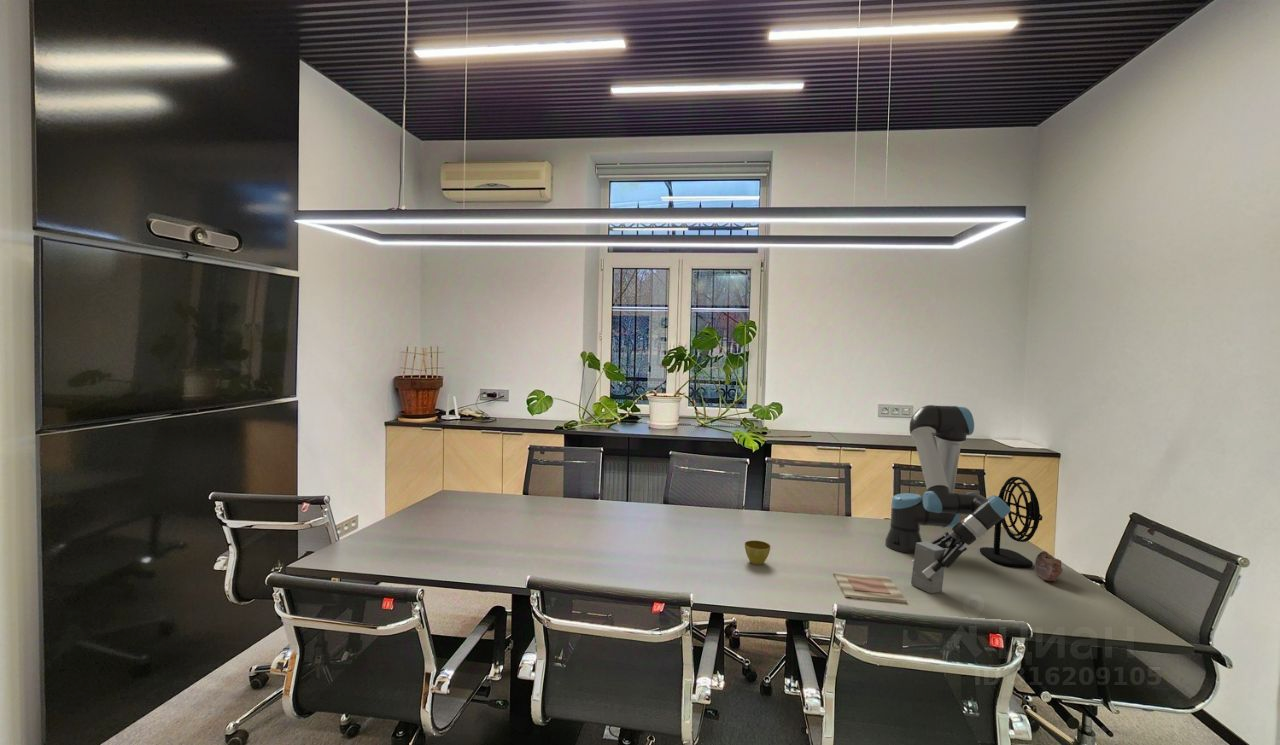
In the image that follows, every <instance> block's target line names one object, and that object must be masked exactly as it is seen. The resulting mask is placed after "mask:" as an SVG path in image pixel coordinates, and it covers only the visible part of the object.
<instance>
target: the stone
mask: <svg viewBox="0 0 1280 745" xmlns="http://www.w3.org/2000/svg"><path fill="white" fill-rule="evenodd" d="M1062 564H1063V562H1062V561H1061V559H1058V558H1054V557H1053V555H1051V554H1049V552H1047V551H1045V550H1043V551H1041V552H1039V554H1037V555H1036V557H1035V563H1034V572H1035V574H1037V575H1038V576H1039V577H1040V578H1041V579H1042V580H1044V581H1047V582H1056V581H1058V578H1059V576H1060V575H1061V574H1063V571H1064V570H1063V568H1062Z"/></svg>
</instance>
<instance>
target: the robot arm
mask: <svg viewBox="0 0 1280 745" xmlns="http://www.w3.org/2000/svg"><path fill="white" fill-rule="evenodd" d="M974 420H975V419H974V416H973V414H972V411H970V409H969V408H967V407H966V406H964V407H963V406H957V405H933V404H930V405H924V406H922V407H920V408H919V409H917V410H916V411H915V412H914V413H913V414H912V416H911V419H910V422H909V433H910V436H911V438H912V440H914V442H915V446H916V451H917V455H918V459H919V464H920V467H921V472H922V475H923V479H924V482H925V488H926V491H925V492H924V493H923V495H922V496H921V494H918V493H909V492H908V493H907V492H905V493H903V492H902V493H897V494H894V495H893V497H892V500H891V506H890V507H891V509H890V510H891V512H890V527H889V531H887V532H888V533H887V535H886V537H885V542H884V544H885V546H886V547H887V548H889V549H892V550H894V551H897V552H901V553H902V552H903V553H907V554H915V547H916V543H917V542H923V540H922V536H921V526H926V527H927V526H928V527H939V528H951V530H952V531H953V532H952V533H949V532H948V531H945V532H944V533H943V534H941V535H940V536H938V537H937V538H935V539H934V540H932V541H930V543H932V544H935V545H938V546H939V547H942V548H944V549H946V550H945V552H944V553H943V555H942V556H941V558H940V559H937V560H936V561H935V562H934V563H932V564H931V565H930V566H929V567H927V568H926V569H925V570H924V571H922V573H923V574H924V575H925V576H926V577H927V578H929V577H931V576H932V575H933V574H934V573H936V572H937V571H938V570H939V569H941V568H942V567H945V568H947V569H948V568H950V567H951V566H952V565H953V564H954V562H956V561H957V559H958V558H959V557H960V556H961V555H962V554H963V553H964V552H965V551H967V550H968V548H967V546H970V545H972V544H973V543H974V542H975V541H977V538H981V536H983V535H985V534H986V532H988V531H989V530H990V529H992V528H993V527H995V524H997V523H998V522H999V521H1000V520H1002V519H1003V518H1005V519H1006V517H1007V516H1008V513H1010V511H1011V506H1010V507H1009V506H1008V505H1007V504H1006V503H1005V502H1004V501H1003V500H1002V499H1001V498H999V497H998V496H999V495H998V496H997V495H995V494H993V495H991V496H989V497H987V498H986V497H985V496H983V495H981V494H979V493H977V492H972V491H969V492H966V493H955V487H956V479H957V472H958V466H959V460H960V452H961V447H962V444H963V443H964V442H966V441H967V436H971V435H972V434H974V431H975V421H974ZM961 515H966V516H965V517H964V518H962V519H961ZM960 519H961V521H960ZM959 521H960V522H959ZM965 544H966V545H967V546H966V545H965ZM911 562H912V563H913V564H914V559H912V560H911Z"/></svg>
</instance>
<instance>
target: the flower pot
mask: <svg viewBox="0 0 1280 745" xmlns="http://www.w3.org/2000/svg"><path fill="white" fill-rule="evenodd" d="M744 548H745V553H746V556H747V558H748V560H749V563H751V564H753V565H755V566H756V565H757V566H759V565H763V564H764V563H765V562H766V560H767V559H768V557H769V555H770V551H771V548H772V547H771V544H769V543H768V542H766V541H761V540H747V541H745V542H744Z"/></svg>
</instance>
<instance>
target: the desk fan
mask: <svg viewBox="0 0 1280 745" xmlns="http://www.w3.org/2000/svg"><path fill="white" fill-rule="evenodd" d="M1019 480H1020V482H1016V481H1019ZM1021 485H1023V486H1025V487H1026V489H1027V490H1024V489H1023V487H1022V486H1021ZM1016 488H1018V489H1019V492H1020V494H1019V495H1018V498H1016V497H1015V495H1014V490H1015V489H1016ZM999 490H1000V491H999V494H998V497H999V498H1001V499H1002V500H1003V501H1004V502H1005V503H1006V504H1007V505H1008V506H1009V507H1010V508H1011V506H1015V511H1010V513H1008V514H1007V516H1008V519H1009V522H1010V525H1008V524H1007V521H1006V517H1005V518H1003V519H1002V520H1000V521H999V522H998V523H997V524H995V525H994V534H993V535H994V536H993V547H990V546H989V547H987V546H985V547H984V546H983V547H980V548H979V552H980V553H981V555H983V556H985V557H986V558H987V559H989V560H990V561H992V562H995V563H996V564H998V565H999V564H1000V565H1002V566H1009V567H1019V568H1031V567H1033V564H1034V563H1033V561H1032V560H1031V559H1029V558H1027V557H1026V556H1025V555H1022V554H1021V553H1019V552H1017V551H1015V550H1011V549H1007V548H1002V547H1001V534H1002V527H1003V529H1004V530H1005V532H1006V533H1007V535H1008V537H1009V538H1010V539H1011V540H1014V541H1016V542H1020V543H1026V542H1028V541H1030V540H1031V539H1032V538H1033V537H1034V535H1035V534H1036V531H1037V530H1038V528H1039V524H1040V521H1043V515H1042V514H1041V511H1040V510H1041V509H1040V503H1039V500H1038V497H1037V495H1036V492H1035V491H1034V489H1033V488H1032V485H1030V483H1029V482H1028V481H1027V480H1026V479H1025V478H1023V477H1020V476H1011V477H1009V478H1008V479H1006V481H1005V482H1004V484H1003V485H1002V486H1001V489H999ZM1026 493H1028V494H1029V496H1030V501H1029V499H1028V497H1027V494H1026ZM1012 498H1013V501H1014V502H1012V501H1011V500H1012ZM1021 498H1023V499H1024V504H1025V506H1024V505H1021V504H1020V501H1021ZM1020 509H1023V510H1025V514H1021V513H1020ZM1012 515H1013V516H1015V518H1014V519H1013V517H1012ZM1018 518H1019V521H1020V523H1021V524H1022V526H1023V527H1022V529H1021V530H1019V528H1017V527H1016V523H1017V521H1018ZM1023 519H1025V521H1024V520H1023ZM1032 521H1033V523H1032ZM1031 524H1032V525H1031ZM1010 528H1012V529H1013V531H1014V532H1016V533H1013V532H1012V531H1011V530H1010ZM1029 530H1030V532H1029ZM1028 532H1029V533H1028Z"/></svg>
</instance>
